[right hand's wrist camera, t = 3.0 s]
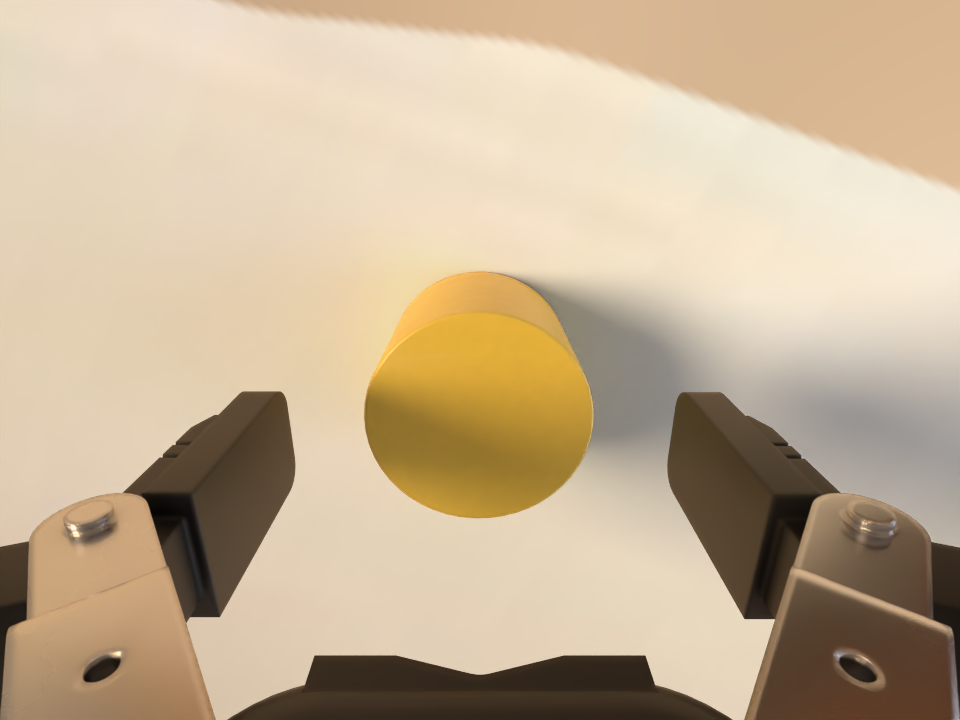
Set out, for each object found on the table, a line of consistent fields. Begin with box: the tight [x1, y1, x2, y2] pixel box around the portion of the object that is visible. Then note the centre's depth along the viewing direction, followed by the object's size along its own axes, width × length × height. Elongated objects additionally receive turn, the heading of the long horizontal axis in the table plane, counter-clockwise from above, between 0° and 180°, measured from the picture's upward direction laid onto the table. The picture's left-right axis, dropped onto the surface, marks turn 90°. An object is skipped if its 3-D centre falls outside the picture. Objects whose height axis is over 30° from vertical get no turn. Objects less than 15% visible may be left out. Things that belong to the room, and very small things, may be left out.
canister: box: [364, 272, 594, 518], centre depth 14 cm, size 5×5×4 cm
